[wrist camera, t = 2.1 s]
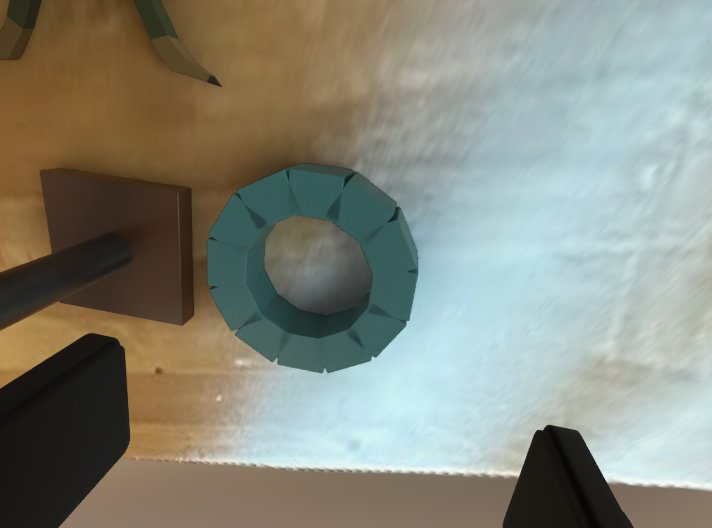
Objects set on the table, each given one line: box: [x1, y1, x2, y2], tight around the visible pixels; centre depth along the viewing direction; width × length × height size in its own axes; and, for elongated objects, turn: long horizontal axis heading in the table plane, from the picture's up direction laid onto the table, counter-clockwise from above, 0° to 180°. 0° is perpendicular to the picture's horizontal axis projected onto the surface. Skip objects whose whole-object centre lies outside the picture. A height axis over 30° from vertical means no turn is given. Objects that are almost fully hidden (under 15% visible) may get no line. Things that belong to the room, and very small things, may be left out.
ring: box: [207, 163, 418, 373], centre depth 24 cm, size 12×12×3 cm
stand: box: [0, 168, 194, 331], centre depth 22 cm, size 9×9×12 cm
